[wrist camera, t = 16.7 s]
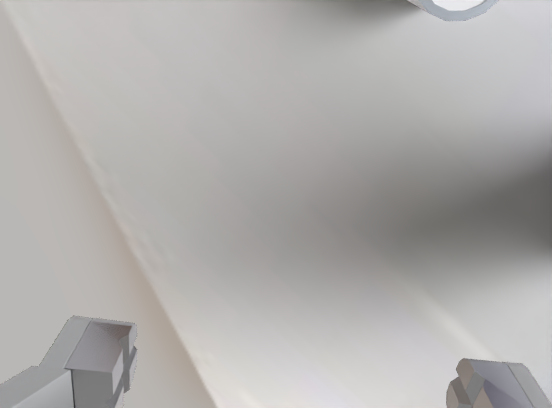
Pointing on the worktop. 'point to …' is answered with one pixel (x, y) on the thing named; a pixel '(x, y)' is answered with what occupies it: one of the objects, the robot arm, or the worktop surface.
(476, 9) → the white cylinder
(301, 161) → the worktop surface
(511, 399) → the robot arm
